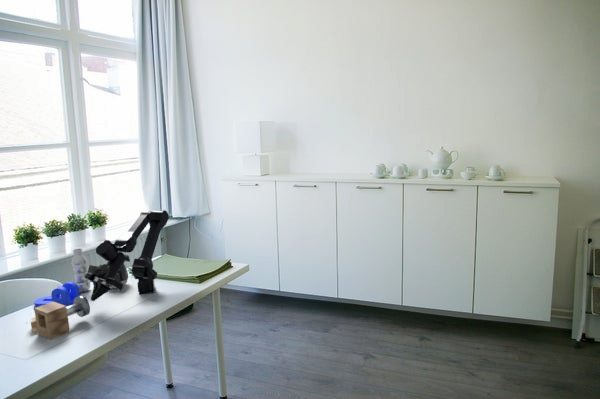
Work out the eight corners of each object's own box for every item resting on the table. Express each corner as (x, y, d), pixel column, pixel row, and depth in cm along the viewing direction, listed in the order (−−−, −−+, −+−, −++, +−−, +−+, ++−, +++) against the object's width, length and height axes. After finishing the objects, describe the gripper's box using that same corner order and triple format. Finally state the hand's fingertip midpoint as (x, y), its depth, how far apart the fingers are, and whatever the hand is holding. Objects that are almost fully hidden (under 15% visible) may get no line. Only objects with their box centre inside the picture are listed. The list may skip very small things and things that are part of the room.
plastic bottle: (78, 289, 212) (72, 248, 208) (93, 288, 212) (87, 247, 209) (72, 294, 205) (66, 252, 202) (88, 293, 206) (82, 251, 202)
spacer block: (44, 325, 173) (42, 315, 173) (44, 329, 170) (42, 319, 169) (32, 328, 172) (30, 318, 171) (32, 332, 168) (30, 322, 167)
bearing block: (57, 326, 172) (53, 301, 170) (69, 331, 167) (66, 306, 165) (38, 333, 166) (34, 308, 165) (50, 339, 161) (46, 313, 160)
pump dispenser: (133, 285, 213) (130, 254, 211) (112, 291, 206) (108, 259, 204) (123, 280, 220) (120, 250, 218) (102, 287, 213) (98, 256, 210)
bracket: (80, 301, 197) (77, 281, 196) (67, 309, 189) (64, 288, 187) (44, 300, 200) (41, 281, 199) (30, 308, 192) (27, 288, 191)
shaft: (79, 312, 179) (77, 293, 177) (91, 316, 174) (88, 297, 173) (49, 324, 169) (46, 304, 168) (60, 329, 164) (57, 308, 163)
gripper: (86, 253, 185) (63, 287, 178) (113, 259, 175) (90, 295, 168) (106, 266, 193) (84, 299, 186) (132, 272, 182) (111, 308, 175)
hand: (92, 300), depth 178 cm, fingers closed
